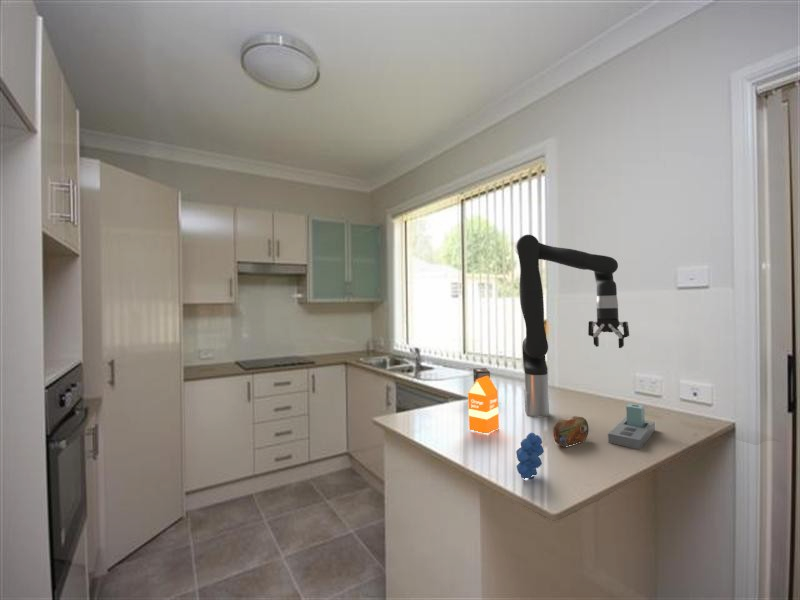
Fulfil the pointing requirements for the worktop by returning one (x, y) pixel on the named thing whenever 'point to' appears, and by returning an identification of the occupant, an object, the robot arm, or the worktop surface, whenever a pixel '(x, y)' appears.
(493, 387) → the orange juice
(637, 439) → the power strip
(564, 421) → the tin
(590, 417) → the worktop surface
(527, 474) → the grapes
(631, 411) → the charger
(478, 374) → the coffee box
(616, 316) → the robot arm
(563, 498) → the worktop surface
